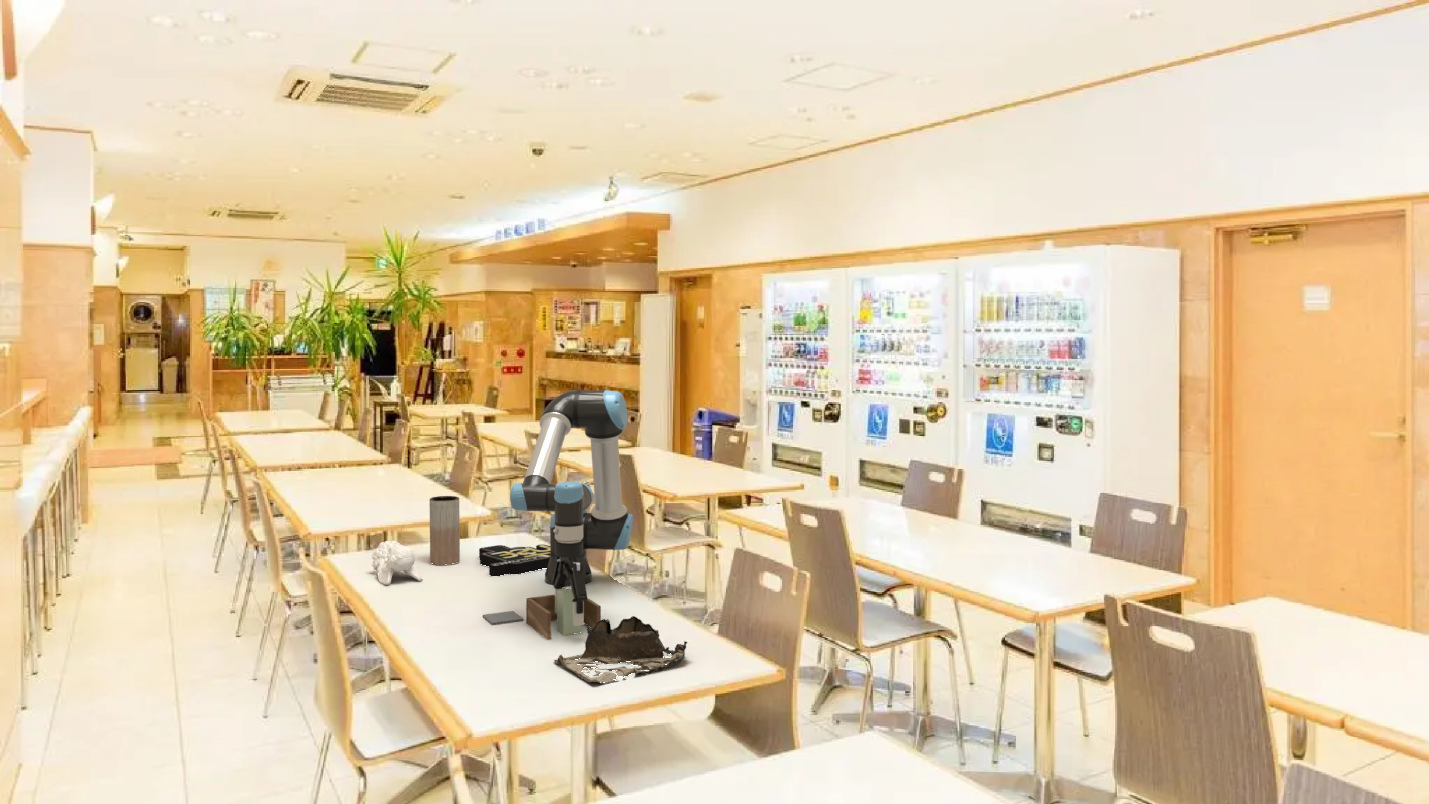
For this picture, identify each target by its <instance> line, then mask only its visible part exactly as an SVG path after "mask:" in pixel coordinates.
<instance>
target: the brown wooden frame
mask: <svg viewBox="0 0 1429 804" xmlns="http://www.w3.org/2000/svg"><path fill="white" fill-rule="evenodd" d="M525 600H526V601H525V602H526V603H525V604H526V605H525V606H526V607H525V608H526V609H525V613H526V624H527V625H528V626H529V627H530V628H532V629H533V630H535V631H536V632H537V633H538V632H539V633H538V634H539V635H541V636H542V635H543V636H544V637H543V636H542V637H543V638H545V639H546V638H547V639H549V640H552V622H553V621H557V613H555V594H550V595H549V594H547V595H541V596H534V597H533V596H532V597H527V598H526V599H525ZM601 612H602V606H601V605H599V604H598V603H596V602H595V601H593V600H592V599H590V598H588V599H587V600H584V623H585V624H584V625H586V626H587V627H589V626H590V627H591V628H590V627H589V628H590V629H593V628H594V627H595V625H596V623H597V622H598V621H600V620H602V613H601ZM552 620H553V621H552ZM547 639H546V640H547Z"/></svg>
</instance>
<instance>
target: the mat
mask: <svg viewBox="0 0 1429 804" xmlns="http://www.w3.org/2000/svg"><path fill="white" fill-rule="evenodd" d="M482 618H483V619H484V618H485V619H484V620H485V621H486V622H488V623H489V624H490V625H491V626H495V625H496V624H497V625H503V624H502V623H504V624H510V623H511V624H512V623H516V622H517V623H518V622H523V621H525V620H524V617H522V616H521V615H519V613H517V612H515V611H514V610H509V611H500V612H494V613H487V614H482ZM497 625H496V626H497Z"/></svg>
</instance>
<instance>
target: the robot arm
mask: <svg viewBox="0 0 1429 804" xmlns="http://www.w3.org/2000/svg"><path fill="white" fill-rule="evenodd" d="M624 397H625V396H624V395H623V394H622V393H621V392H620V391H617V390H609V389H605V390H602V389H601V390H598V389H597V390H594V389H593V390H592V389H591V390H587V389H586V390H579V389H573V390H567V391H566V392H563V393H561V394H559V395H557V397H555V398H554V399H552V400H551V401H550V402H549V403H548V405H547V406H546V407H545V409H544V410H543V411H542V414H541V417H540V418H539V427H540V430H539V434H538V436H537V440H536V442H535V444H534V448H533V452H532V455H531V457H530V461H529V464H528V465H527V466H528V467H527V470H526V473H525V476H524V479H523V481H522V482H519V483H514V484H513V485H512V486H511V488H510V494H509V501H510V505H511V508H512V509H513V510H515V511H521V512H522V511H523V512H553V513H552V514H551V516H550V522H549V523H550V526H549V528H550V529H549V539H550V541H549V543H550V545H549V546H550V560H549V563H548V566H547V569H545V570H546V571H545V572H544V573H545V574H544V582H545V583H547V584H549V585H553V588H554V595H555V613H557V590H565V589H566V588H567V586H566V585H571V586H570V589H572V592H573V596H574V599H573V600H572V602H573V626H578V625H581V626H584V625H585V624H584V600H587V599H589V597H588V592H587V586H586V584H588V583H590V582H592V580H593V573H592V572H593V571H592V569H591V566H590V563H589V560H588V557H587V556H588V555H587V550H601V551H602V550H603V551H605V550H606V551H617V550H618V551H619V550H621V551H625V550H626V549H627V548H628V547H629V545H630V543H631V542H630V541H631V537H632V532H633V524H634V515H633V514H632V513H628V508H627V506H626V505H625V504H623V500H622V482H621V480H622V479H621V466H620V449H619V447H620V446H619V437H620V436H621V435H622V434H623V431H624V430H623V429H626V428H627V425H628V409H627V408H628V407H627V403H626V399H625V398H624ZM576 428H577V429H584V434H585V436H586V438H588V439H590V449H591V450H590V451H591V464H592V465H591V466H592V480H593V481H592V482H593V489H592V488H591V486H589V485H588V484H587V483H583V482H578V481H561V482H558V483H555V484H553V483H552V480H553V476H554V473H555V470H556V466H557V464H558V461H559V458H560V455H561V451H562V447H563V444H564V442H565V438H566V436H568V434H569V433H570V432H571V430H572V429H576ZM593 500H594V506H593V507H592V508H591V511H590V512H588V508H589V507H590V506H591V505H592V502H593Z"/></svg>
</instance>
